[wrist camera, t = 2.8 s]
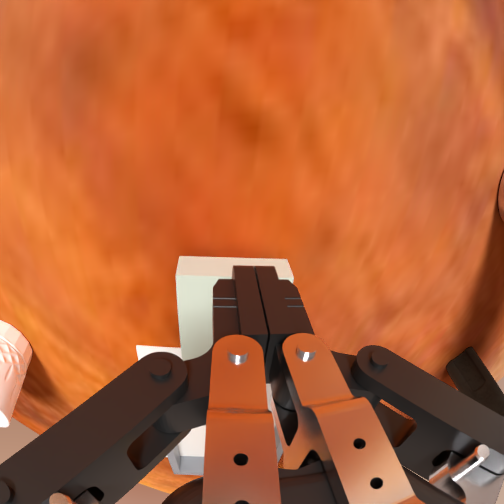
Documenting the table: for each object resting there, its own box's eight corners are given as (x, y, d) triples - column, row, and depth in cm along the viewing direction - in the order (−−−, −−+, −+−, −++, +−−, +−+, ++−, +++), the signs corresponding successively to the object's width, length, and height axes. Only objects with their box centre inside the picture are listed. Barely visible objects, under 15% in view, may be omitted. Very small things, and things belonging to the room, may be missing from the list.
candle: (449, 376, 39) (512, 499, 17) (445, 365, 37) (515, 501, 15) (474, 357, 38) (542, 476, 16) (471, 344, 35) (548, 475, 14)
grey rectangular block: (284, 252, 24) (293, 277, 21) (269, 342, 29) (274, 370, 26) (180, 249, 23) (175, 275, 20) (185, 342, 28) (183, 370, 25)
